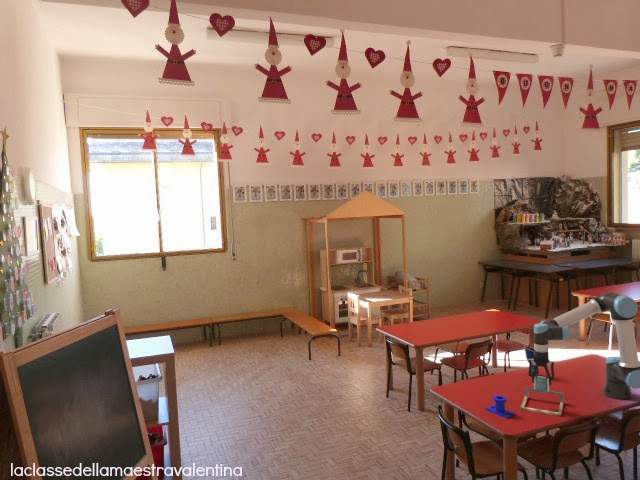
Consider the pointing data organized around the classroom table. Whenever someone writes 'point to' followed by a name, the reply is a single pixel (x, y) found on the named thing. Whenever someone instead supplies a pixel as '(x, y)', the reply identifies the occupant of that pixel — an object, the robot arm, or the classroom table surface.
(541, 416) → the classroom table surface
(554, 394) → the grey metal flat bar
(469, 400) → the classroom table surface
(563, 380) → the classroom table surface
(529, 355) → the figurine
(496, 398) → the mount
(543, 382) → the grooved blue cylinder
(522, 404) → the shelf frame
